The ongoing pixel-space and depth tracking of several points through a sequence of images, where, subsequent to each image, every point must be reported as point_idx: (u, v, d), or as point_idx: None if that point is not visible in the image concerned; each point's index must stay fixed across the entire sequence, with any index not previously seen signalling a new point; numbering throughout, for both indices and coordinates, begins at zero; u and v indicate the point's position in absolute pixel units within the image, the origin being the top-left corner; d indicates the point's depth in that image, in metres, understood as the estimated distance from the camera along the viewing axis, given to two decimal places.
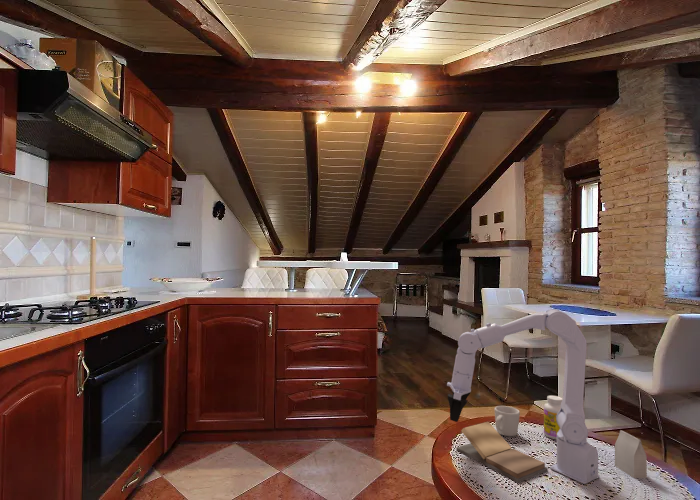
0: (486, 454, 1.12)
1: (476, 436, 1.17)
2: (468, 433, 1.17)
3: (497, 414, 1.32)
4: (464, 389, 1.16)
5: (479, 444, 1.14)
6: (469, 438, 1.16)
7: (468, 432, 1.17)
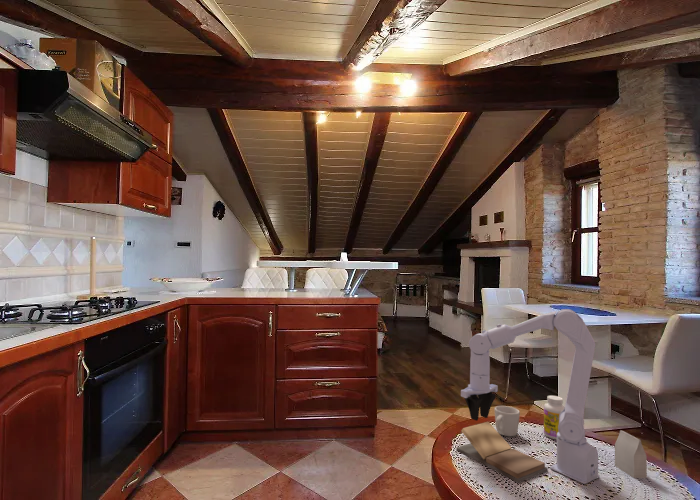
0: (486, 454, 1.12)
1: (476, 436, 1.17)
2: (468, 433, 1.17)
3: (497, 414, 1.32)
4: (477, 389, 1.18)
5: (479, 444, 1.14)
6: (469, 438, 1.16)
7: (468, 432, 1.17)
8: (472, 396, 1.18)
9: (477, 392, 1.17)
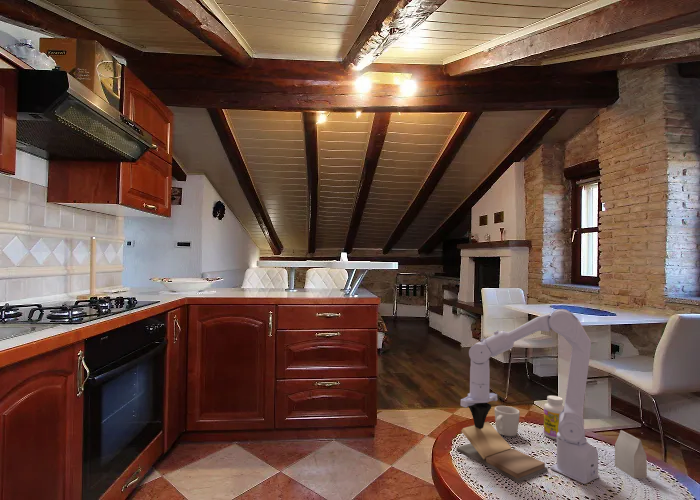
0: (486, 454, 1.12)
1: (476, 436, 1.17)
2: (468, 433, 1.17)
3: (497, 414, 1.32)
4: (477, 398, 1.18)
5: (479, 444, 1.14)
6: (469, 438, 1.16)
7: (468, 432, 1.17)
8: (476, 404, 1.19)
9: (477, 401, 1.17)
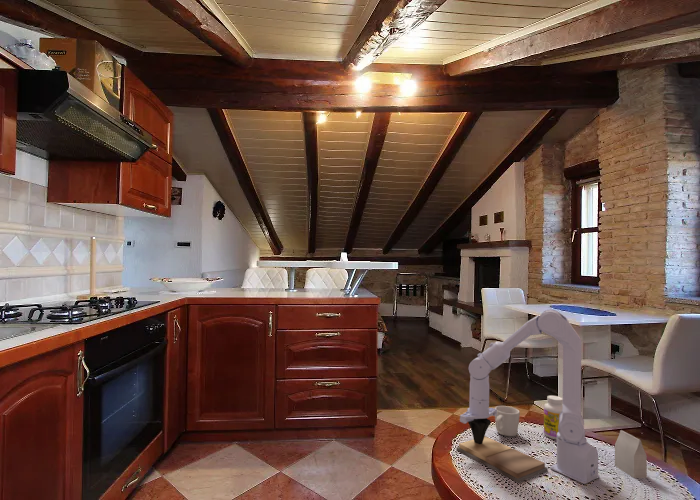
0: (486, 455, 1.12)
1: (474, 446, 1.18)
2: (465, 445, 1.18)
3: (497, 414, 1.32)
4: (476, 414, 1.18)
5: (478, 450, 1.15)
6: (467, 449, 1.16)
7: (465, 445, 1.18)
8: (475, 420, 1.19)
9: (476, 417, 1.17)
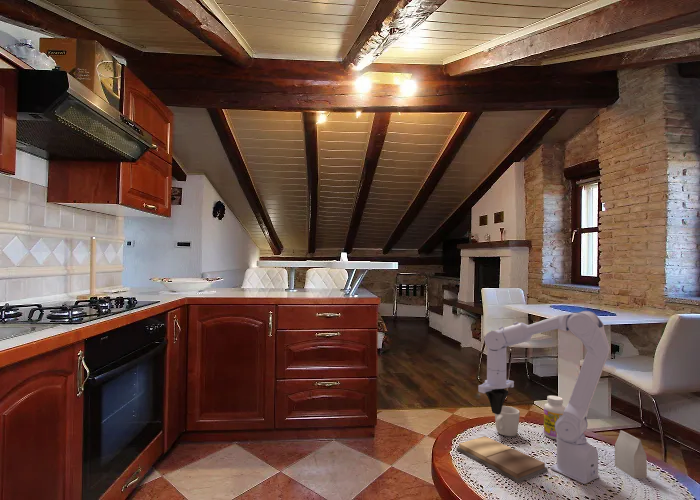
0: (486, 455, 1.12)
1: (474, 446, 1.18)
2: (465, 445, 1.18)
3: None
4: (494, 385, 1.20)
5: (478, 450, 1.15)
6: (467, 449, 1.16)
7: (465, 445, 1.18)
8: (494, 390, 1.21)
9: (494, 387, 1.19)
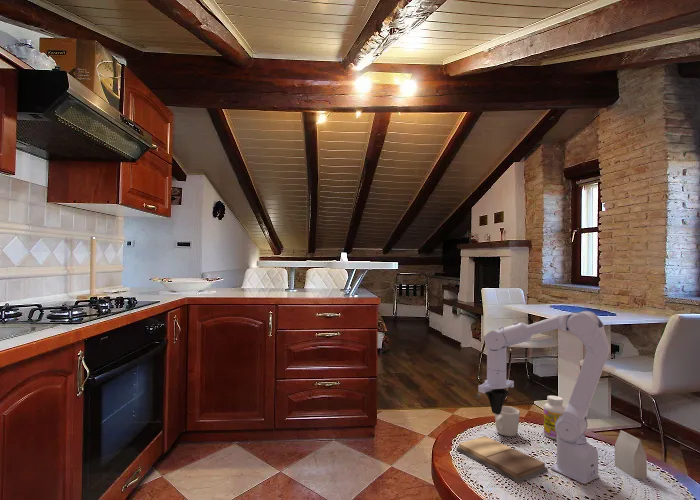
0: (486, 455, 1.12)
1: (474, 446, 1.18)
2: (465, 445, 1.18)
3: None
4: (494, 385, 1.20)
5: (478, 450, 1.15)
6: (467, 449, 1.16)
7: (465, 445, 1.18)
8: (494, 390, 1.21)
9: (494, 387, 1.19)
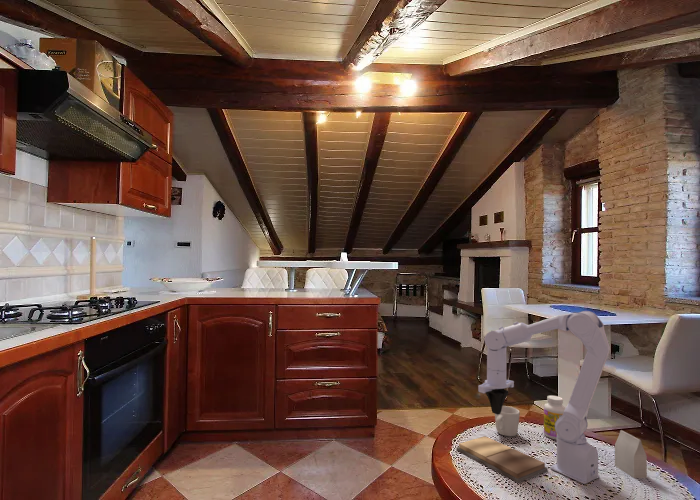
0: (486, 455, 1.12)
1: (474, 446, 1.18)
2: (465, 445, 1.18)
3: None
4: (494, 385, 1.20)
5: (478, 450, 1.15)
6: (467, 449, 1.16)
7: (465, 445, 1.18)
8: (494, 390, 1.21)
9: (494, 387, 1.19)
